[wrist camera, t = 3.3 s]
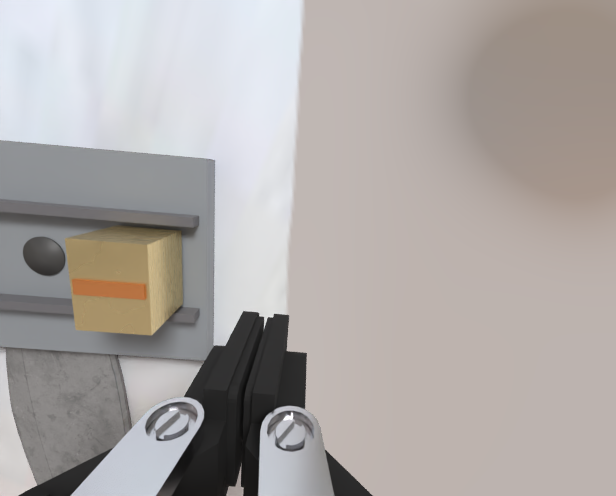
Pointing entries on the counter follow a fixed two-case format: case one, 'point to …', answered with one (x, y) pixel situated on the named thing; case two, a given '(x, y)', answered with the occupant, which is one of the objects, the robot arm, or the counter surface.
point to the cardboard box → (125, 278)
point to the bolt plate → (90, 217)
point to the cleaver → (66, 406)
